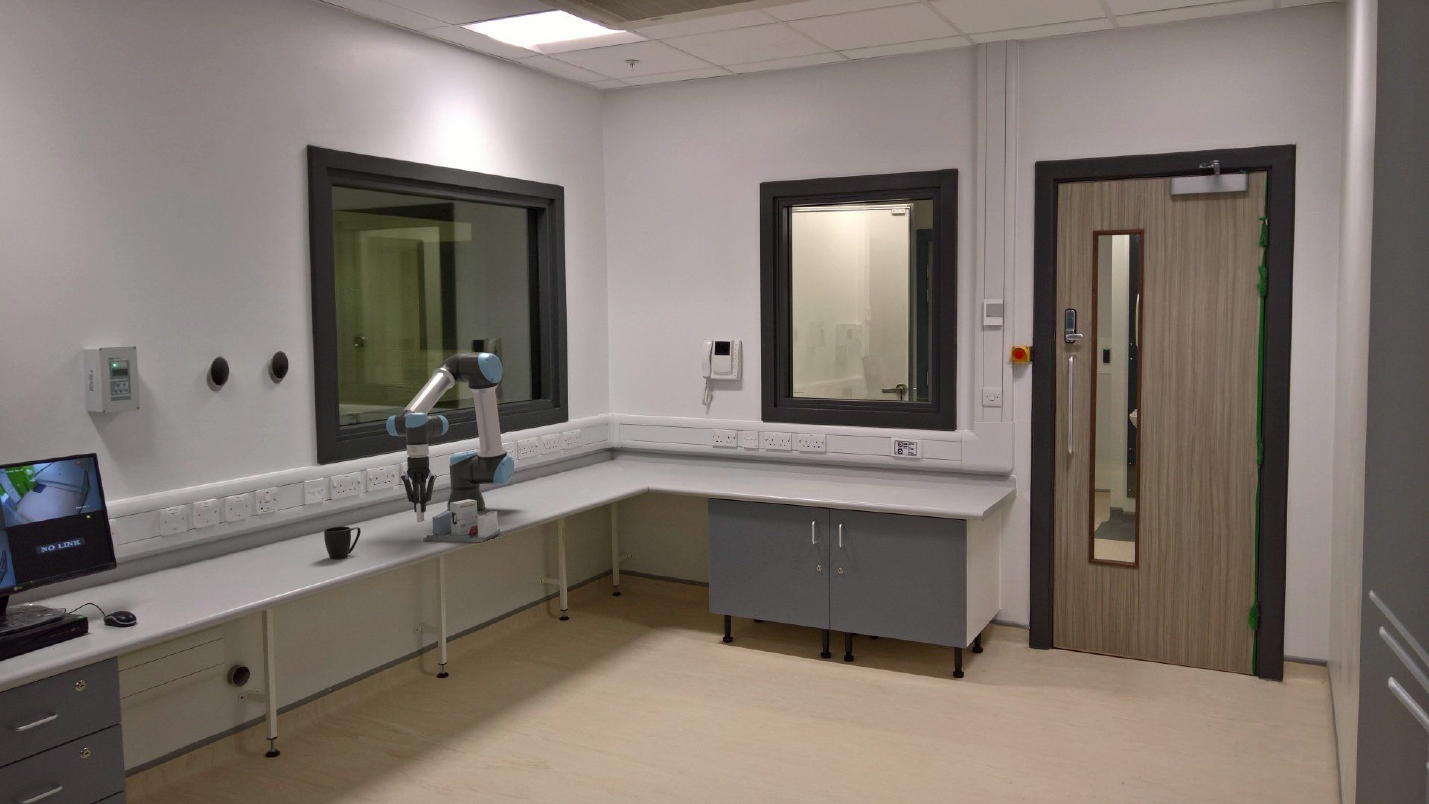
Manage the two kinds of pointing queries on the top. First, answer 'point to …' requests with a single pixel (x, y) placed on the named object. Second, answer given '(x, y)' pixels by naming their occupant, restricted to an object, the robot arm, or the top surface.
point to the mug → (339, 541)
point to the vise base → (485, 532)
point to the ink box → (464, 517)
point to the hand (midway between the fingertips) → (420, 521)
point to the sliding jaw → (442, 523)
